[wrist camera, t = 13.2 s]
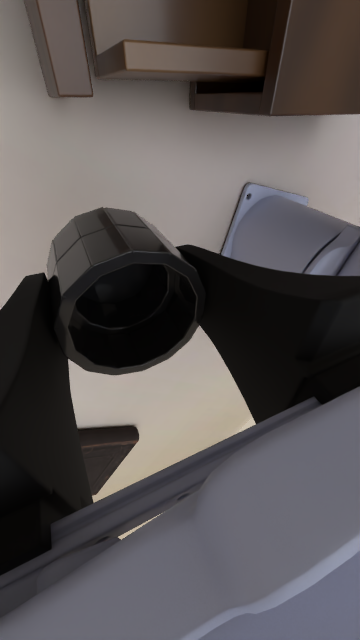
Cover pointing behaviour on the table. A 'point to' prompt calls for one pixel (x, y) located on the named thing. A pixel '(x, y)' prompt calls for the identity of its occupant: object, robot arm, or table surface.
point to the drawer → (151, 41)
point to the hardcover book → (105, 452)
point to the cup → (120, 293)
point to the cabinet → (298, 66)
